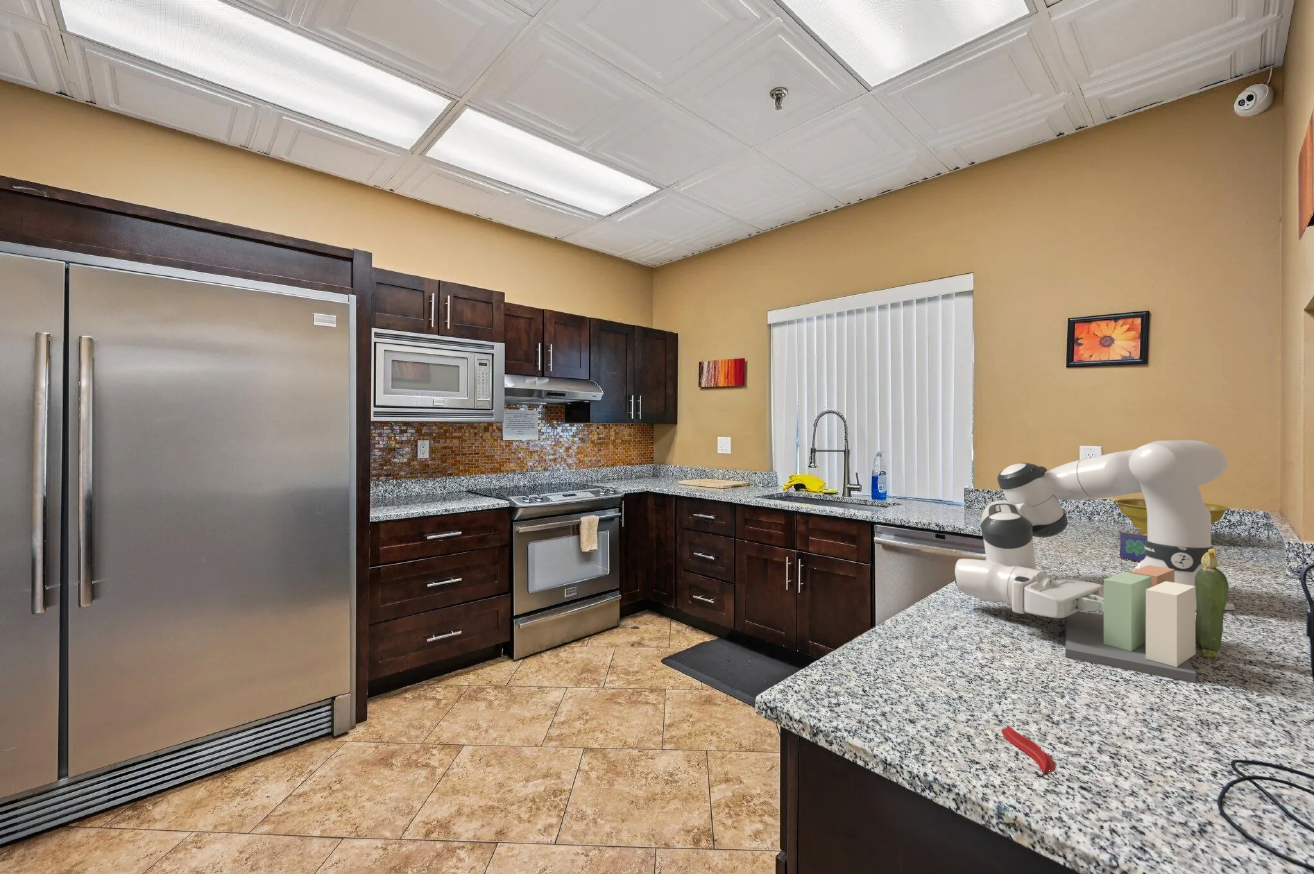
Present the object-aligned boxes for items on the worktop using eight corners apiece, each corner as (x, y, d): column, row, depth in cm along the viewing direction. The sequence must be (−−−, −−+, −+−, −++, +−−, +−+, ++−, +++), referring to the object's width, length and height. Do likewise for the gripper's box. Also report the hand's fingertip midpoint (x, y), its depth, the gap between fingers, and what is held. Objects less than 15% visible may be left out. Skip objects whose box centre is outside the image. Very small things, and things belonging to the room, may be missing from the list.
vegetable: (1192, 650, 102) (1192, 543, 102) (1226, 656, 99) (1226, 546, 99) (1196, 657, 98) (1196, 547, 98) (1230, 664, 96) (1230, 550, 96)
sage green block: (1103, 644, 101) (1103, 579, 101) (1124, 633, 106) (1124, 572, 106) (1131, 651, 98) (1131, 584, 98) (1151, 639, 103) (1151, 576, 103)
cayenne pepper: (1062, 784, 64) (1062, 768, 64) (1016, 775, 66) (1016, 759, 66) (1037, 733, 75) (1037, 719, 75) (997, 726, 77) (998, 712, 77)
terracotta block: (1130, 633, 106) (1130, 571, 106) (1148, 623, 112) (1148, 565, 112) (1156, 639, 103) (1156, 576, 103) (1174, 629, 108) (1174, 569, 108)
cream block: (1145, 658, 94) (1145, 589, 94) (1165, 646, 100) (1165, 581, 100) (1176, 666, 91) (1176, 595, 91) (1195, 653, 96) (1195, 586, 96)
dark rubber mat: (1067, 616, 121) (1067, 609, 121) (1171, 632, 111) (1171, 625, 111) (1065, 657, 99) (1065, 648, 99) (1195, 682, 89) (1195, 673, 89)
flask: (1157, 564, 169) (1157, 529, 169) (1152, 565, 168) (1152, 530, 168) (1122, 558, 177) (1122, 525, 177) (1117, 559, 176) (1117, 525, 176)
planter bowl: (1228, 551, 187) (1228, 512, 187) (1107, 538, 211) (1107, 503, 211) (1230, 538, 209) (1230, 503, 209) (1121, 528, 233) (1121, 496, 233)
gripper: (1054, 597, 121) (1134, 614, 109) (1009, 613, 110) (1091, 634, 98) (1054, 568, 121) (1134, 582, 109) (1009, 582, 110) (1091, 599, 98)
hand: (1113, 607), depth 104 cm, fingers closed, pressing on sage green block
